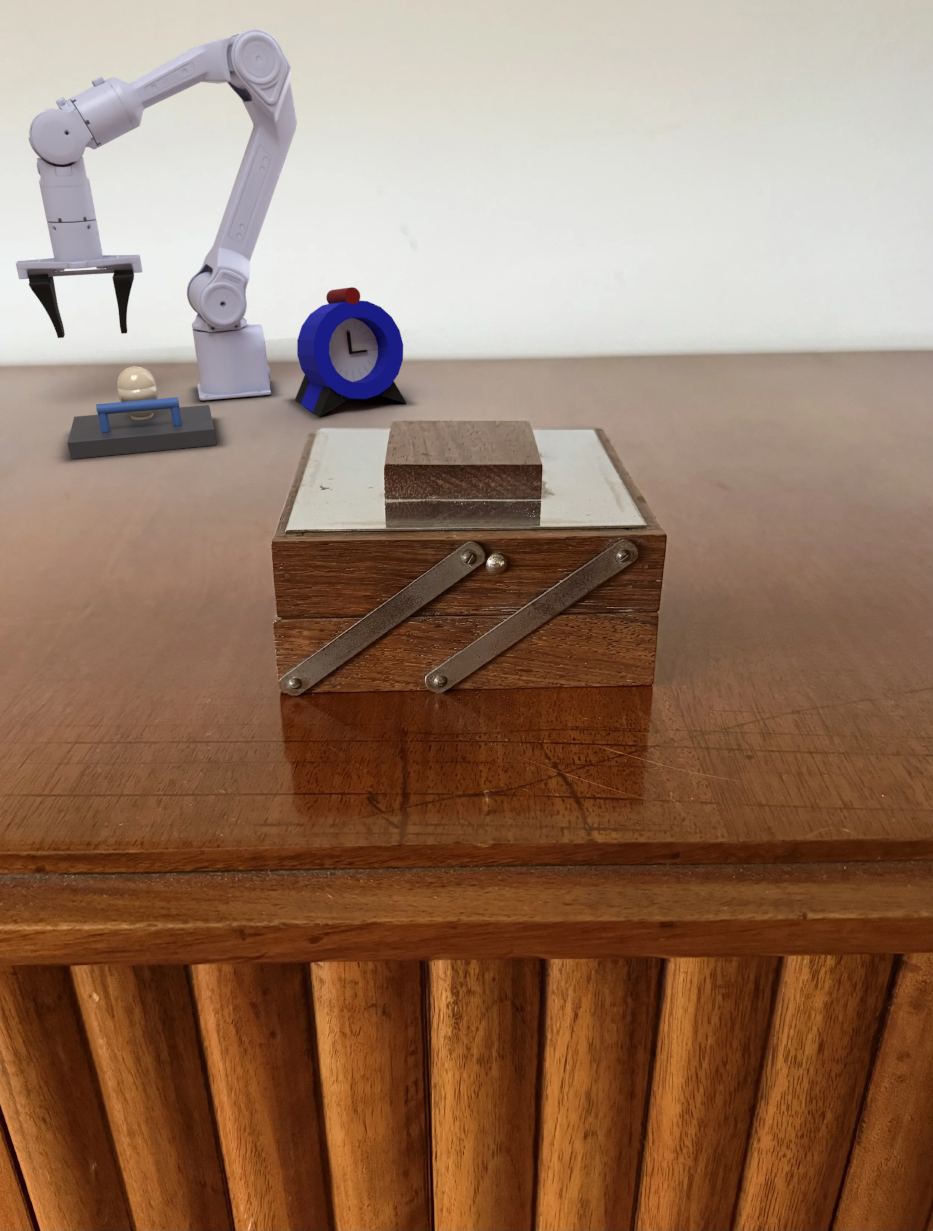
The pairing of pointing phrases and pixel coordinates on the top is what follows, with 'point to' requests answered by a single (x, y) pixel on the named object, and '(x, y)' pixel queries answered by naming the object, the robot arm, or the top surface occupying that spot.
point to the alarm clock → (348, 353)
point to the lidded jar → (137, 389)
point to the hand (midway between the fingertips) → (93, 334)
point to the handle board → (140, 429)
